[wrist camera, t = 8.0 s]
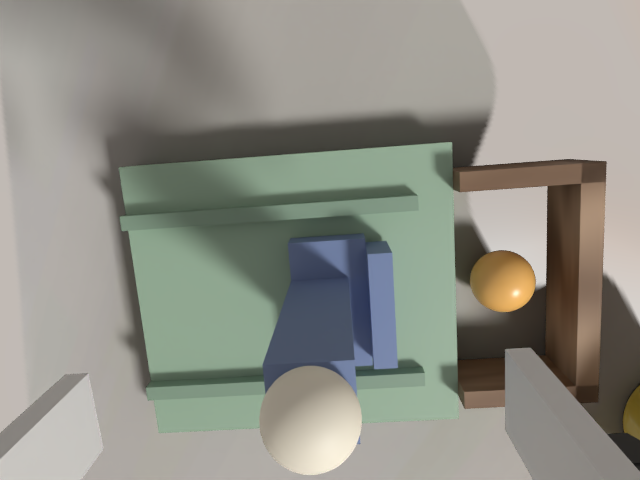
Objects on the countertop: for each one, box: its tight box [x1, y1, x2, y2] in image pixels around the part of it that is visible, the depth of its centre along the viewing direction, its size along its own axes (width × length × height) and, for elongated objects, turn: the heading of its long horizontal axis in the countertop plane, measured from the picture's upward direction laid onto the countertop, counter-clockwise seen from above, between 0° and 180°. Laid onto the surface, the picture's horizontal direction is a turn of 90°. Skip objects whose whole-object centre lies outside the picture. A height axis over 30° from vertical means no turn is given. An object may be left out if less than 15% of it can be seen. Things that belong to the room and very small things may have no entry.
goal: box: [453, 159, 606, 409], centre depth 28 cm, size 13×7×4 cm, turn 4°
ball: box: [470, 250, 536, 312], centre depth 28 cm, size 4×4×4 cm
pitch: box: [119, 142, 459, 433], centre depth 29 cm, size 16×18×3 cm
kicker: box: [259, 233, 398, 475], centre depth 21 cm, size 7×5×14 cm
